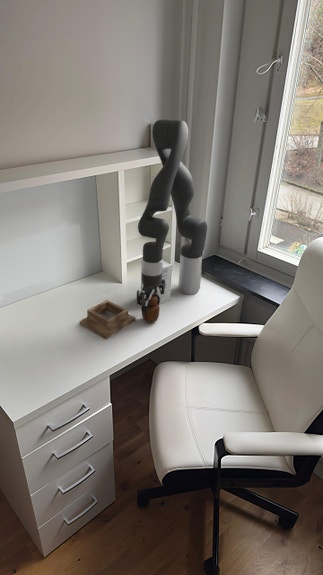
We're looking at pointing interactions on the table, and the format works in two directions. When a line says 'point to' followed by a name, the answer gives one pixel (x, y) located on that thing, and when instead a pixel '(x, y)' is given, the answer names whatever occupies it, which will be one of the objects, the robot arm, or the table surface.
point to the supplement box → (167, 277)
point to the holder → (107, 319)
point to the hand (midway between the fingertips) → (150, 308)
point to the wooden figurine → (151, 310)
